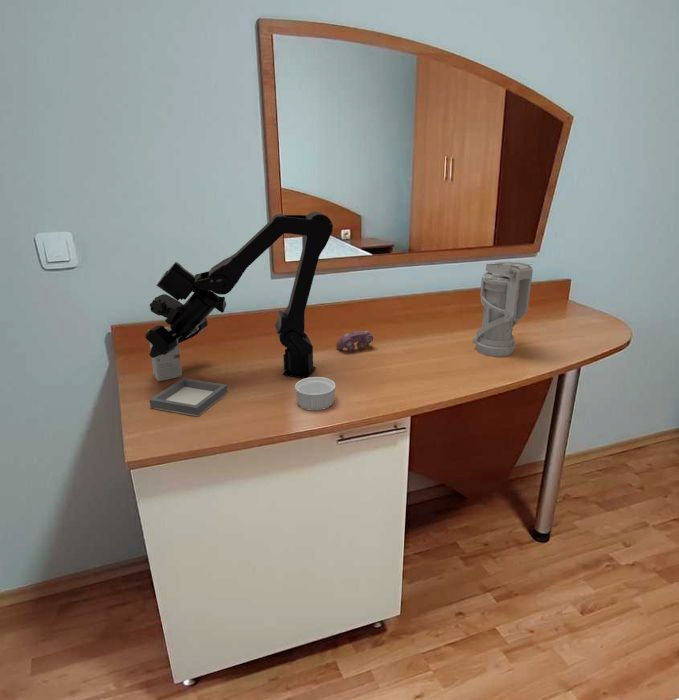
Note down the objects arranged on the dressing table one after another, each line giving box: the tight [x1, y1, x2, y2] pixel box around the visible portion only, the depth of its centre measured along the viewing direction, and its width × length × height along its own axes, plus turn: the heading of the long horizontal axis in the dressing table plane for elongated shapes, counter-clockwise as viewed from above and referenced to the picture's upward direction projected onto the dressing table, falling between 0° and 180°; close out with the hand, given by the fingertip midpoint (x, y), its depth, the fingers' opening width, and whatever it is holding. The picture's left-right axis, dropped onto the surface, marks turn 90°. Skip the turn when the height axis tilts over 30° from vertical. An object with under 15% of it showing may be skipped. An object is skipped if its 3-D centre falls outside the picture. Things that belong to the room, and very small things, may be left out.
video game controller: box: [335, 330, 374, 352], centre depth 142 cm, size 10×5×7 cm, turn 115°
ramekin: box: [294, 376, 336, 411], centre depth 113 cm, size 9×9×4 cm
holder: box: [149, 377, 229, 417], centre depth 114 cm, size 12×12×2 cm
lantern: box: [472, 261, 534, 358], centre depth 136 cm, size 13×10×25 cm
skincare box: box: [147, 326, 183, 382], centre depth 125 cm, size 6×4×12 cm
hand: (159, 350), depth 125 cm, fingers closed on skincare box, 7 cm apart
